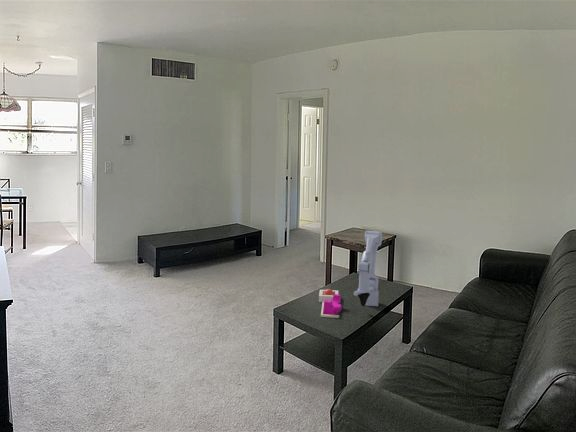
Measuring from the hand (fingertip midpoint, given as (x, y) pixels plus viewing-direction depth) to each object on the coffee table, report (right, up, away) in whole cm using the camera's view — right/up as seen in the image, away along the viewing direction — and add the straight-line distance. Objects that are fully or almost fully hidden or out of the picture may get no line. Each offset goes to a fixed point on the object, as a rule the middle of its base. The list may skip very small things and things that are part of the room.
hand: (363, 305), depth 267 cm
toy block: (-16, -4, +3) cm, 17 cm away
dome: (-18, 0, +21) cm, 28 cm away
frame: (-18, -4, +3) cm, 18 cm away
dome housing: (-18, 0, +22) cm, 28 cm away
